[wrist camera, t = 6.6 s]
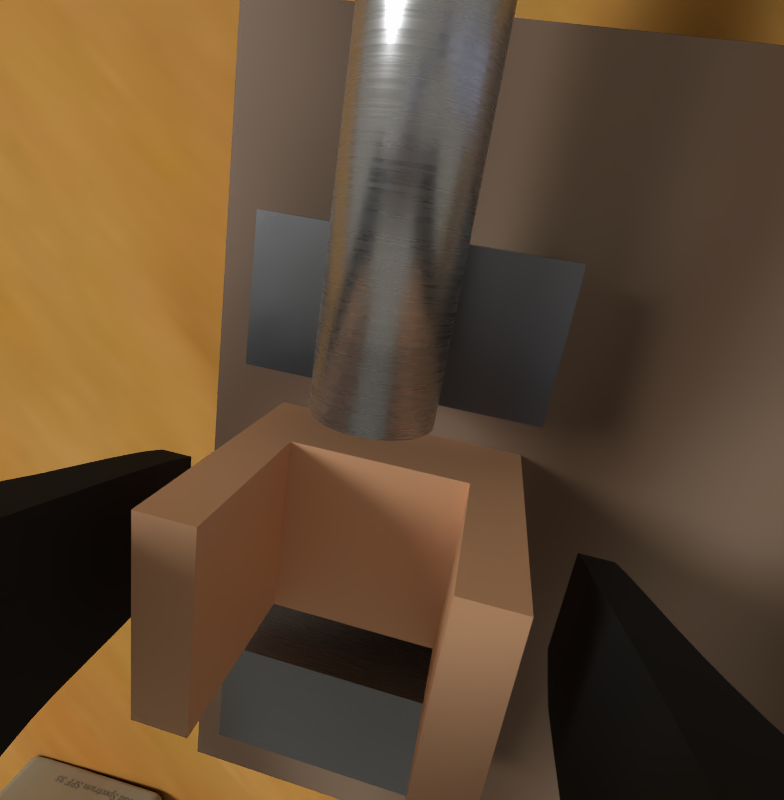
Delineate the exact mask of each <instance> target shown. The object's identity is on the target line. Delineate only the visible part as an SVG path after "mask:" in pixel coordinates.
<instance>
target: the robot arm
mask: <svg viewBox="0 0 784 800" xmlns="http://www.w3.org/2000/svg"><path fill="white" fill-rule="evenodd" d="M190 468H191V457H190V456H186V455H182V454H178V453H174V452H170V451H166V450H154V451H145V452H139V453H133V454H128V455H123V456H118V457H113V458H109V459H104V460H99V461H95V462H90V463H86V464H81V465H77V466H72V467H68V468H63V469H59V470H54V471H50V472H45V473H40V474H36V475H31V476H26V477H20V478H15V479H10V480H5V481H0V756H1V755H2V754H3V752H4V751H5V750H6V749H7V748H8V746H9V745H10V744H11V743H12V742H13V740H14V739H15V738H16V737H17V736H18V734H19V733H20V732H21V731H22V730H23V728H24V727H25V726H26V725H27V724H28V722H29V721H30V720H31V719H32V718H33V717H34V716H35V715H36V714H37V712H38V711H39V710H40V709H41V708H42V707H43V706H44V705H45V704H46V703H47V702H48V701H49V699H50V698H51V697H52V696H53V695H54V694H55V693H56V692H57V691H58V690H59V689H60V688H61V687H62V686H63V685H64V684H65V683H66V682H67V681H68V680H69V679H70V678H71V677H72V676H73V675H74V674H75V673H76V672H77V671H78V670H79V669H80V668H81V667H82V666H83V665H84V664H85V663H86V662H87V661H88V660H89V659H90V658H91V657H92V656H93V655H94V654H95V653H96V652H97V651H98V650H99V649H100V648H101V647H102V646H103V645H104V644H105V643H106V642H107V641H108V640H109V639H110V638H111V637H112V636H113V635H114V634H115V633H116V632H117V631H118V630H119V629H120V628H121V627H122V626H123V625H124V624H125V623H126V621H127V620H128V619H129V618H130V617H131V510H132V509H133V508H134V507H136V506H137V505H139V504H140V503H142V502H143V501H144V500H146V499H147V498H149V497H150V496H151V495H153V494H154V493H156V492H157V491H159V490H160V489H161V488H163V487H164V486H166V485H167V484H168V483H170V482H171V481H173V480H174V479H176V478H177V477H178V476H180V475H181V474H183V473H184V472H185V471H187V470H188V469H190ZM548 711H549V720H550V728H551V736H552V744H553V751H554V759H555V767H556V774H557V782H558V789H559V797H560V800H784V734H782V733H781V732H780V731H779V730H778V729H777V728H776V727H775V726H774V725H773V724H772V723H770V722H769V721H768V720H767V719H766V718H765V717H764V716H763V715H762V714H761V713H760V712H759V711H758V710H757V709H756V708H755V707H754V706H753V705H752V704H751V703H750V702H749V701H748V700H747V699H746V698H745V697H744V696H742V695H741V694H740V693H739V692H738V691H737V690H736V689H735V688H734V687H733V686H732V685H731V684H730V683H729V682H728V681H727V680H726V679H725V678H724V677H723V676H722V675H721V674H720V673H719V672H718V671H717V670H716V669H715V668H714V667H713V666H712V665H711V664H710V663H709V662H708V661H707V660H706V659H705V658H704V657H703V655H702V654H701V653H700V652H699V651H698V650H697V649H696V648H695V647H694V646H693V645H692V644H691V643H690V642H689V641H688V640H687V639H686V638H685V636H684V635H683V634H682V633H681V632H680V631H679V630H678V629H677V628H676V627H675V626H674V625H673V624H672V622H671V621H670V620H669V619H668V618H667V617H666V616H665V615H664V614H663V613H662V611H661V610H660V609H659V608H658V607H657V606H656V605H655V604H654V603H653V602H652V600H651V599H650V598H649V597H648V596H647V595H646V594H645V593H644V592H643V591H642V589H641V588H640V587H639V586H638V585H637V584H636V583H635V582H634V581H633V580H632V579H631V578H630V577H629V575H628V574H627V573H626V572H625V571H624V570H623V569H622V568H621V567H620V566H619V565H617V564H616V563H615V562H612V561H608V560H604V559H600V558H596V557H592V556H588V555H584V554H580V553H578V554H577V557H576V560H575V563H574V567H573V570H572V573H571V576H570V579H569V582H568V586H567V589H566V592H565V595H564V598H563V602H562V605H561V608H560V611H559V614H558V617H557V621H556V624H555V627H554V630H553V633H552V637H551V640H550V643H549V646H548Z"/></svg>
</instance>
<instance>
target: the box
mask: <svg viewBox="0 0 784 800" xmlns="http://www.w3.org/2000/svg"><path fill="white" fill-rule="evenodd" d="M0 800H162V799H161V796H160V795H159V794H157V793H155V792H152V791H149V790H146V789H143V788H140V787H137V786H133V785H130V784H127V783H124V782H121V781H118V780H115V779H112V778H108V777H105V776H102V775H99V774H96V773H93V772H90V771H87V770H84V769H81V768H78V767H74V766H71V765H68V764H65V763H61V762H58V761H55V760H52V759H49V758H44V757H40V756H36V757H34V758H33V759H31V761H30V762H29V763H28V764H27V765H26V766H25V767H24V768H23V769H22V770H21V771H20V772H19V773H18V774H17V775H16V776H15V777H14V779H13V780H12V781H11V782H10V783H9V784H8V785H7V786H6V787H5V788H4V789H3V790H2V791H1V792H0Z"/></svg>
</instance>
